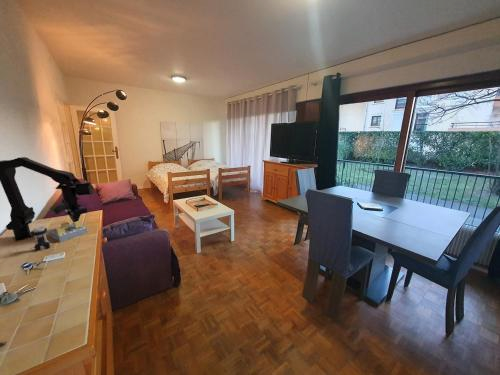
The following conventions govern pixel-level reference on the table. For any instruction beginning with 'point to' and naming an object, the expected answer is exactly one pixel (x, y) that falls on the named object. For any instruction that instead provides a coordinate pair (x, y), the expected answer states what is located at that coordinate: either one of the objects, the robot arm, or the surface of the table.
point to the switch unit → (68, 233)
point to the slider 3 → (77, 224)
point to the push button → (40, 238)
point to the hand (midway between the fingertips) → (75, 224)
